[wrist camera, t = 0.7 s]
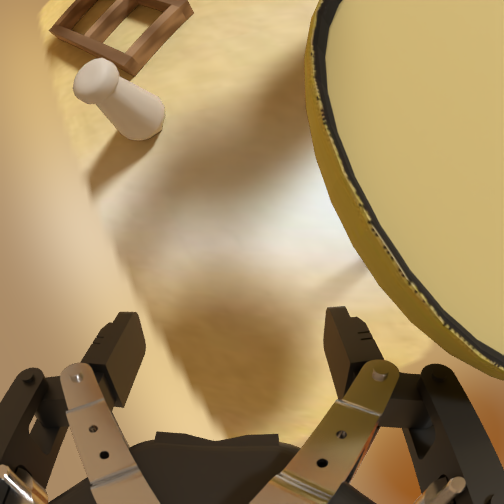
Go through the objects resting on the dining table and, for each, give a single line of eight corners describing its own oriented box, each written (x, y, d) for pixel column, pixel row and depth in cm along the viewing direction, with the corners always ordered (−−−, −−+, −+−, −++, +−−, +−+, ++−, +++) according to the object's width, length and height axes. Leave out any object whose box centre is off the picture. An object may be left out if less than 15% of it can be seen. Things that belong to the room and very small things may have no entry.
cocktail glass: (390, 110, 30) (428, -85, 6) (510, 215, 26) (672, 140, 2) (290, 233, 32) (167, 116, 8) (419, 347, 28) (564, 479, 4)
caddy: (104, -12, 35) (96, -21, 32) (193, 12, 33) (187, 0, 30) (58, 38, 36) (48, 30, 33) (134, 76, 34) (124, 66, 31)
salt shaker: (131, 152, 34) (62, 116, 21) (125, 113, 34) (61, 68, 21) (176, 134, 33) (118, 84, 20) (167, 94, 33) (113, 37, 20)
